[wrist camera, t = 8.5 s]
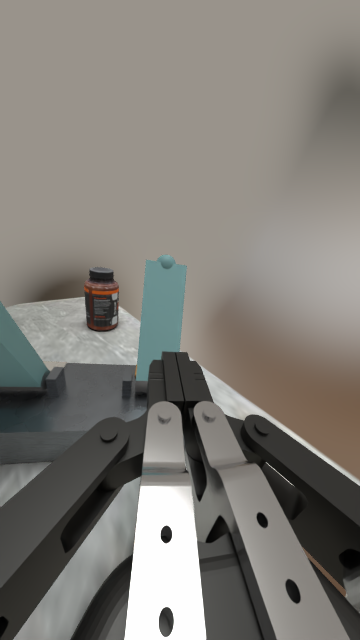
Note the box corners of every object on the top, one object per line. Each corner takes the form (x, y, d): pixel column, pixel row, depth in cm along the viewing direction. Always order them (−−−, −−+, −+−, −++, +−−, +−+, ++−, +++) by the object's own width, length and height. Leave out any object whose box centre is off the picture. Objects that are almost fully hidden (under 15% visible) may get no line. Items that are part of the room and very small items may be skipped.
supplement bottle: (123, 327, 38) (125, 273, 33) (94, 335, 34) (91, 274, 29) (110, 316, 41) (109, 265, 37) (82, 321, 37) (77, 265, 32)
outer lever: (134, 395, 17) (146, 248, 17) (135, 387, 19) (146, 255, 19) (176, 395, 18) (188, 255, 18) (172, 387, 20) (183, 261, 20)
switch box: (-72, 468, 14) (-113, 413, 11) (3, 387, 21) (-12, 343, 19) (201, 452, 18) (216, 410, 16) (187, 390, 25) (196, 353, 23)
